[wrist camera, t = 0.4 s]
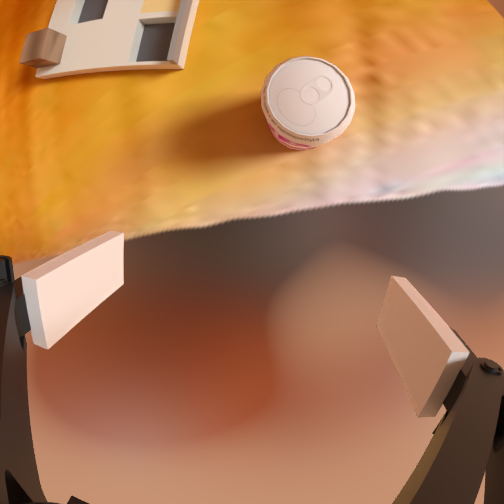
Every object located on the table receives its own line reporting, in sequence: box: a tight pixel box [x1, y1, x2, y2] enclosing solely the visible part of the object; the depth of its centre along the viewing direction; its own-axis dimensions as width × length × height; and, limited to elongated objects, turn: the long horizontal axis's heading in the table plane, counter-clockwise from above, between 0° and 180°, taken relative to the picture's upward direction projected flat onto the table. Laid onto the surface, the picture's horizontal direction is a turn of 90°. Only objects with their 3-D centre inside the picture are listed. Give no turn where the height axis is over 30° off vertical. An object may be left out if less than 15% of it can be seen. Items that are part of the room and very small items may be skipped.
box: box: [35, 0, 199, 79], centre depth 33 cm, size 26×16×4 cm, turn 81°
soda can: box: [261, 56, 355, 151], centre depth 30 cm, size 8×8×15 cm
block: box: [19, 28, 67, 68], centre depth 32 cm, size 5×5×5 cm
